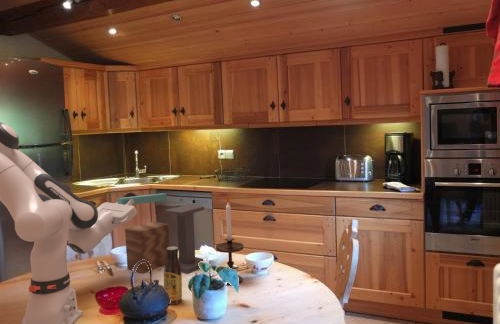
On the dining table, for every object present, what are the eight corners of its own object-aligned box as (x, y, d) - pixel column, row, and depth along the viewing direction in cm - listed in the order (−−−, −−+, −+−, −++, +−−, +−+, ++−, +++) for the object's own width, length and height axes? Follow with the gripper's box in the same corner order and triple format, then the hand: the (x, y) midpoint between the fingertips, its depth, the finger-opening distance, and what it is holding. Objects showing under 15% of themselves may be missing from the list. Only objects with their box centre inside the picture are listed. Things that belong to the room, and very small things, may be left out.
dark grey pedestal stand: (187, 273, 193) (184, 213, 190) (164, 268, 201) (161, 209, 198) (210, 264, 204) (207, 207, 201) (187, 259, 212) (184, 204, 209)
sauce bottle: (161, 303, 162) (158, 249, 160) (171, 297, 168) (169, 244, 166) (175, 306, 159) (173, 251, 157) (186, 300, 165) (183, 246, 163)
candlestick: (237, 287, 175) (233, 197, 171) (212, 284, 180) (208, 196, 176) (249, 278, 185) (246, 192, 181) (225, 275, 189) (222, 191, 186)
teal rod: (122, 206, 187) (122, 198, 187) (117, 205, 189) (117, 198, 189) (166, 200, 206) (166, 193, 206) (162, 199, 208) (162, 193, 208)
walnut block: (142, 273, 195) (139, 232, 193) (127, 269, 201) (124, 229, 199) (170, 263, 208) (168, 224, 206) (155, 259, 214) (153, 221, 212)
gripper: (117, 218, 175) (141, 195, 184) (87, 213, 188) (111, 192, 196) (125, 230, 178) (148, 207, 187) (95, 224, 191) (118, 203, 199)
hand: (129, 199), depth 192 cm, fingers closed on teal rod, 3 cm apart
